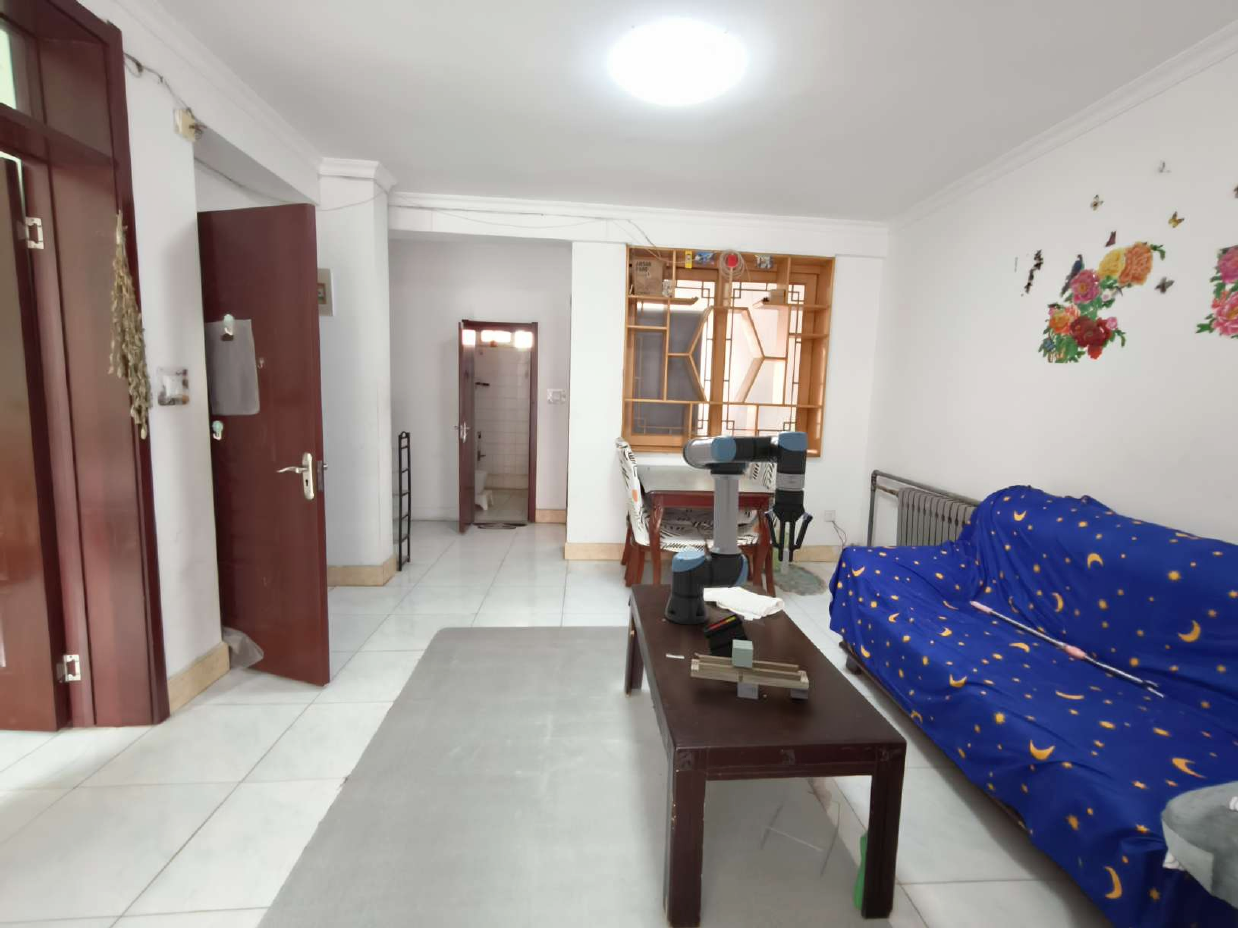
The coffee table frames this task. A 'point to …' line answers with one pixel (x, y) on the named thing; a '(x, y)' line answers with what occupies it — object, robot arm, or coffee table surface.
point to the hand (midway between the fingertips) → (784, 572)
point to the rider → (742, 653)
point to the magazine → (724, 635)
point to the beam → (752, 675)
